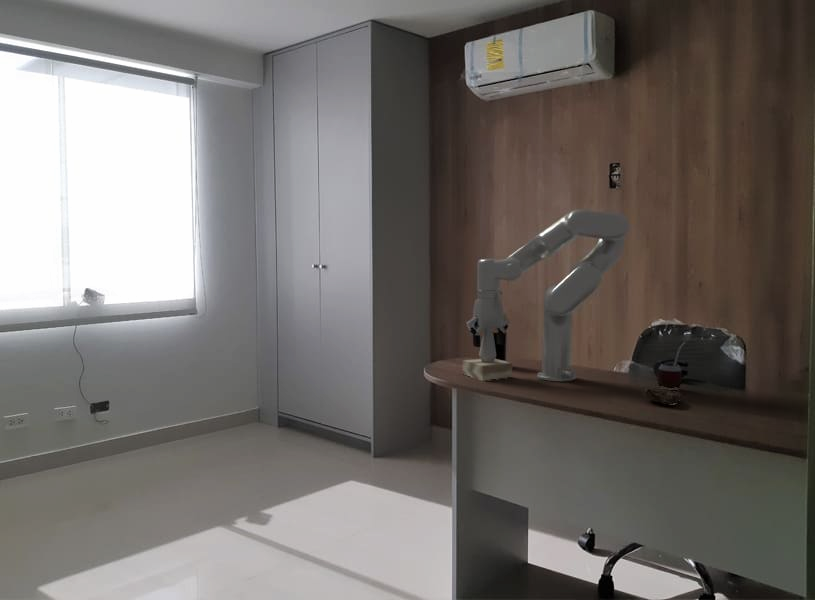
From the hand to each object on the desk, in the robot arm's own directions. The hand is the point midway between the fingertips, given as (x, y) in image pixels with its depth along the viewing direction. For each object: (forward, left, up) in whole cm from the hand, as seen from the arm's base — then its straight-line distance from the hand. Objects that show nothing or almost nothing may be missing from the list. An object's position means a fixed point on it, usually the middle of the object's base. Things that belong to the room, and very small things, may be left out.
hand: (488, 345), depth 231 cm
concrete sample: (-55, -22, -11) cm, 60 cm away
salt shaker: (0, 0, -6) cm, 6 cm away
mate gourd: (-43, -39, -11) cm, 59 cm away
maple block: (0, 0, -11) cm, 11 cm away
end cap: (-32, -52, -11) cm, 62 cm away
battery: (+14, -14, -11) cm, 22 cm away
